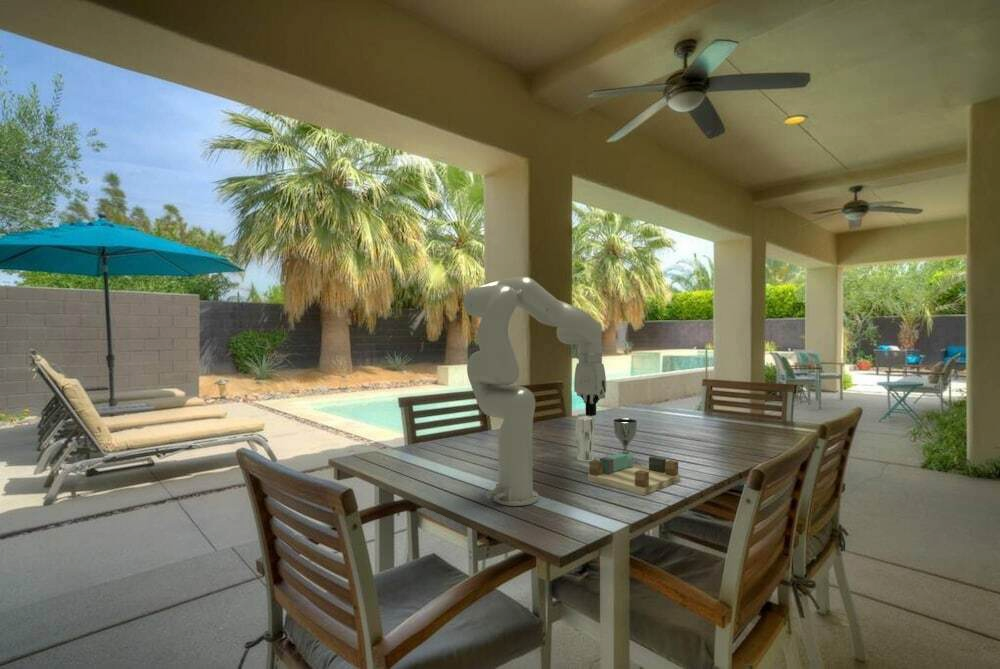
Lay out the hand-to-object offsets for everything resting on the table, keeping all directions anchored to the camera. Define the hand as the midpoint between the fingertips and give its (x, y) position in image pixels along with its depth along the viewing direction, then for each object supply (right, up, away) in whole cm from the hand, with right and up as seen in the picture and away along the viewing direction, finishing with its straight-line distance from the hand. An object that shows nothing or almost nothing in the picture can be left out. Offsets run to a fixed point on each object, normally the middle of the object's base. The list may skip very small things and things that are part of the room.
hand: (590, 415), depth 166 cm
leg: (+8, -17, -2) cm, 19 cm away
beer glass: (+1, -19, +18) cm, 27 cm away
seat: (+12, -19, -8) cm, 24 cm away
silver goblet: (+14, -19, +13) cm, 27 cm away
